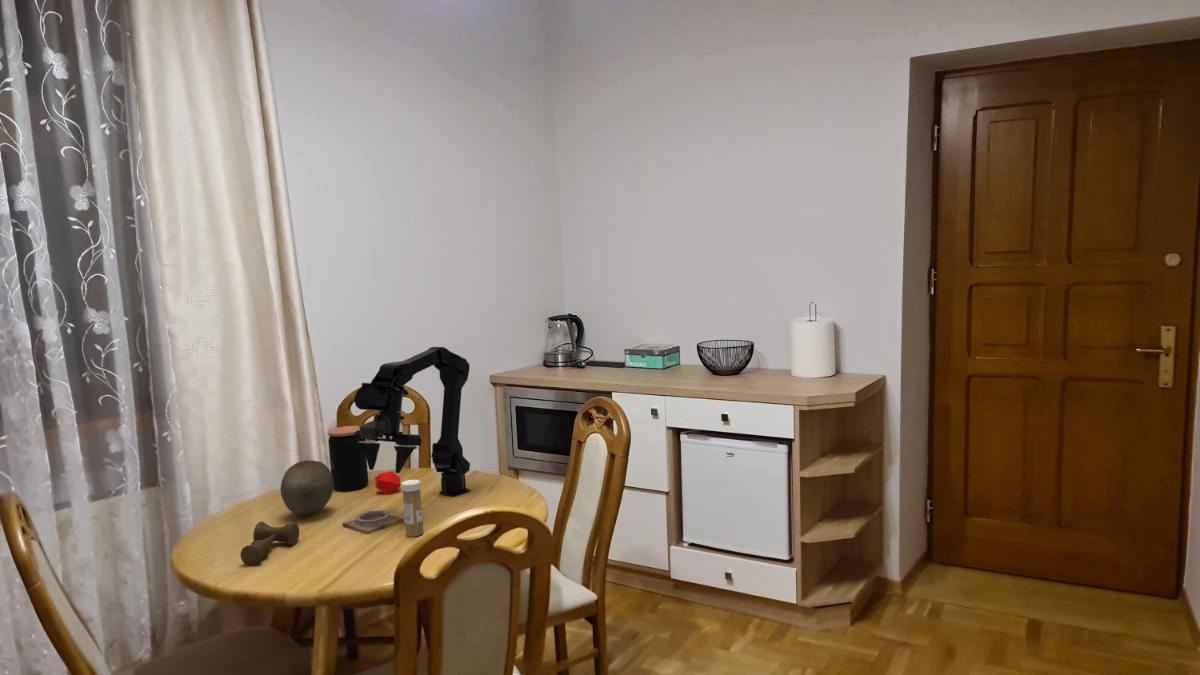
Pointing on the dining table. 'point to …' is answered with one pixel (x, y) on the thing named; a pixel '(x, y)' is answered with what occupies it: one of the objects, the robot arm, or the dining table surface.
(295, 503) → the dark grey ball
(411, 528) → the sprinkles bottle
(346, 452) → the coffee jar
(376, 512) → the hub seat
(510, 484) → the dining table surface
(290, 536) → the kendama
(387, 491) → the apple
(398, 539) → the dining table surface
